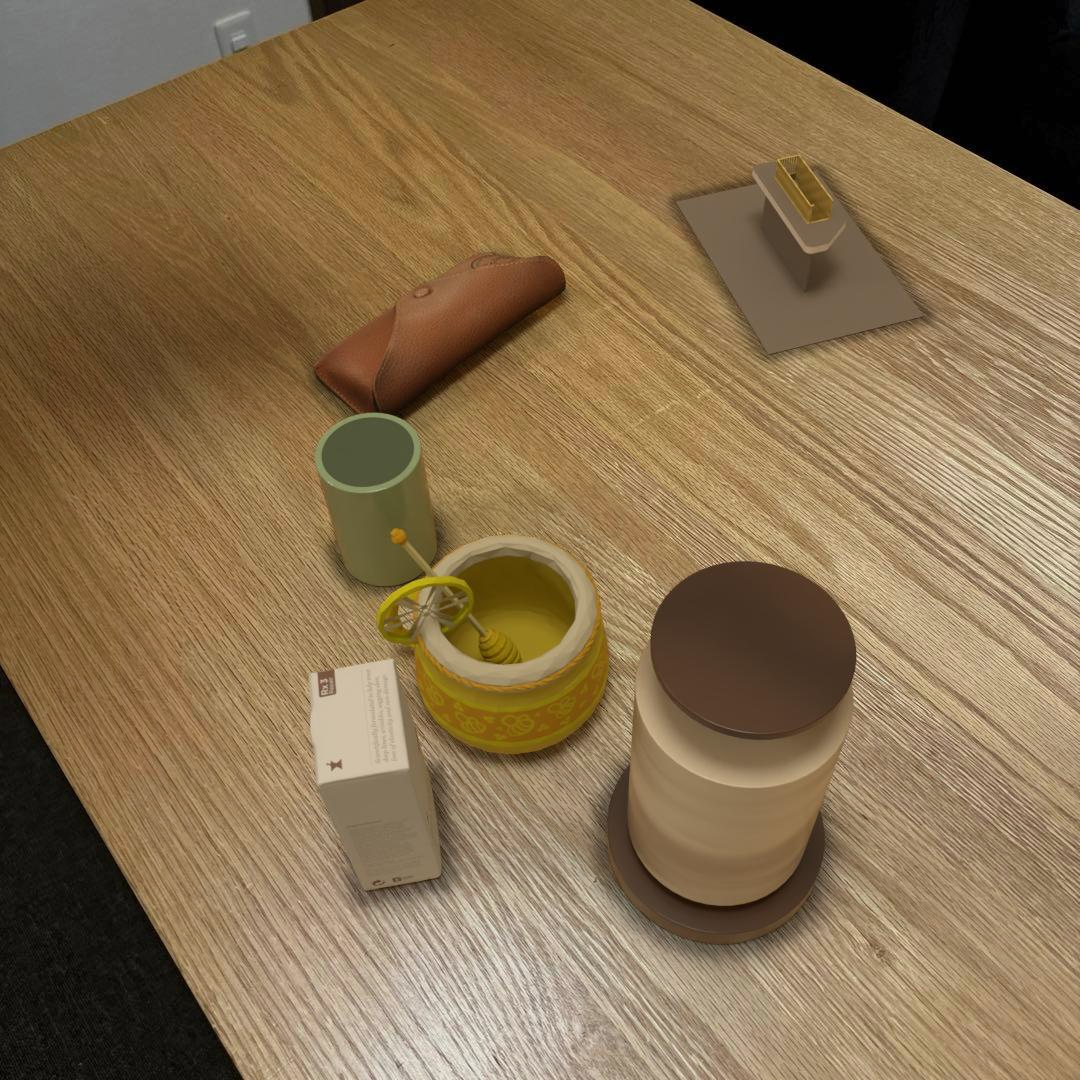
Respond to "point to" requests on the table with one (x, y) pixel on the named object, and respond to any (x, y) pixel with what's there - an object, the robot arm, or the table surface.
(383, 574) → the cup
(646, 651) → the holder
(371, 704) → the cosmetic box
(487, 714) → the honey pot with dipper
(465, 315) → the sunglasses case
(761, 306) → the platform
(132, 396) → the table surface
